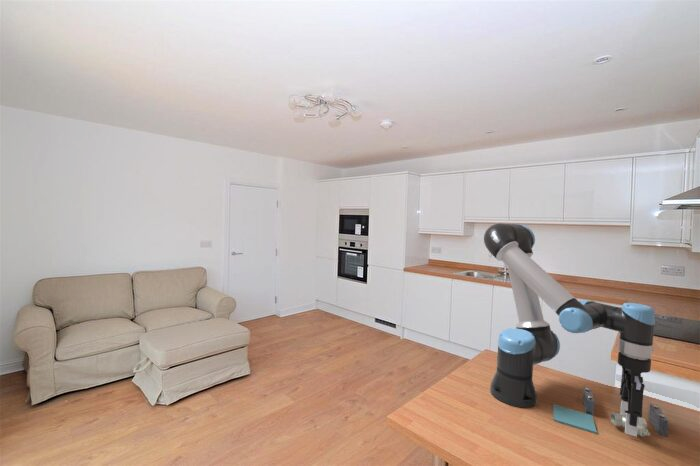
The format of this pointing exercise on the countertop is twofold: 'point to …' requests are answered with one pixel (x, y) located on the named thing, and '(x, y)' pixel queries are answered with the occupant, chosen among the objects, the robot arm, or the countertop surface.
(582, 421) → the mat
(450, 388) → the countertop surface
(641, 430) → the pipe fitting
